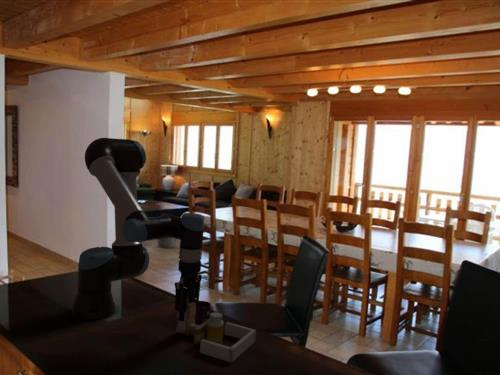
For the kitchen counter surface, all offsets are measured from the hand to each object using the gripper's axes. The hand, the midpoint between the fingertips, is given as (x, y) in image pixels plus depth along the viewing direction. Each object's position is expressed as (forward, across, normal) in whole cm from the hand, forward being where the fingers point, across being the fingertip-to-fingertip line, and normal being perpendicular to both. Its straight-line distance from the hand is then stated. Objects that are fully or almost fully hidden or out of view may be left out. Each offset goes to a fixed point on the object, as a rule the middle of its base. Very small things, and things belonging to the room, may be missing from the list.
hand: (185, 327), depth 148 cm
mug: (+3, +12, +3) cm, 13 cm away
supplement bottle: (+3, 0, -11) cm, 12 cm away
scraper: (+2, 0, -3) cm, 4 cm away
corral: (+2, 0, -16) cm, 16 cm away
